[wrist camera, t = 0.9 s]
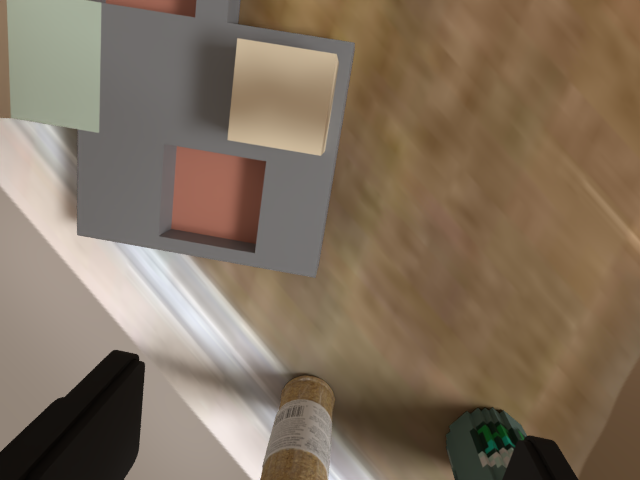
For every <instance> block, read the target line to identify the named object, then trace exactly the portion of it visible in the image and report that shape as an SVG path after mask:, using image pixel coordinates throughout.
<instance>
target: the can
mask: <svg viewBox="0 0 640 480" xmlns="http://www.w3.org/2000/svg"><path fill="white" fill-rule="evenodd" d="M449 428H450V432H449V433H448V434H446V438H447V440H446V444H447V446H446V449H447V453H448V456H449V460H450V464H451V467H452V471H453V474H454V478H455V480H502V479H503V476H504V474H505V471H506V469H507V466H508V463H509V461H510V458H511V456H512V453H513V450H514V448H515V445H516V443H517V442H518V441H519V440H524V438H525V437H526V436H527V435H526V433H525V431H524V430H523V428H522V426H521V425H520V424H519V423H518V422H517V421H516V420H514V419H513V418H512V417H511V416H510V415H508V414H507V413H506V412H505V411H504V410H503V411H502V412H501V413H498V412H497V411H496V410H495V409H494V408H491V409H490V410H487V409H486V408H484V409H483V410H482V411H481V410H480V409H479V408H477V409H476V410H475V411H473V412H472V413H471V414H470V413H469V412H467V411H466V412H465V413H464V414H463V415H462V416H461V417H459V418H458V419H457V420H456V421H455V422H454V423H452V424H451V425H450V426H449Z"/></svg>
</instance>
